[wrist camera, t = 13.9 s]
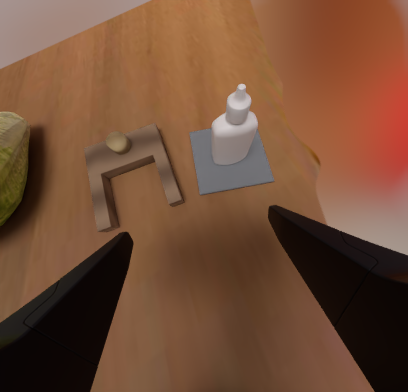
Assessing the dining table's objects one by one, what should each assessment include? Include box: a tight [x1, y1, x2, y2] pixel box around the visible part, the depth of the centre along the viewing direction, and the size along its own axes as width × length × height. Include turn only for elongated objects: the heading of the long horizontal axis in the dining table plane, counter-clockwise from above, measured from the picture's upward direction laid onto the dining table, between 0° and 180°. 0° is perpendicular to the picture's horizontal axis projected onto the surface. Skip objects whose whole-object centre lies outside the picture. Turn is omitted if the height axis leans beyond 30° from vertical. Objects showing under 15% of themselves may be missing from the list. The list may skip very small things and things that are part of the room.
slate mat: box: [189, 128, 274, 195], centre depth 25 cm, size 12×12×1 cm
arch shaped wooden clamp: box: [84, 123, 184, 232], centre depth 24 cm, size 15×13×4 cm
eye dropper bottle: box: [212, 84, 258, 165], centre depth 19 cm, size 4×6×12 cm
